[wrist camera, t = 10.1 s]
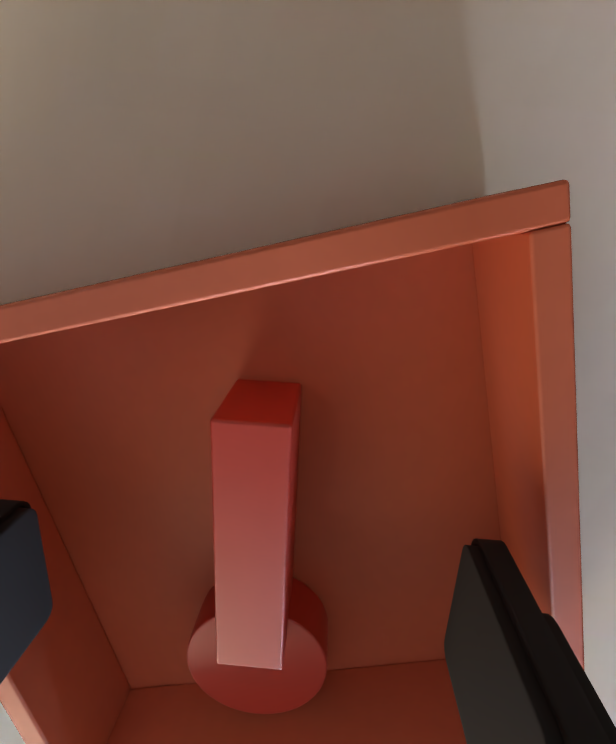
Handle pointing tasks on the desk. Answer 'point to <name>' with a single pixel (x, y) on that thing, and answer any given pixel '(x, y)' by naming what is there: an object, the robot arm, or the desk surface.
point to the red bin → (315, 464)
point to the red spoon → (257, 561)
